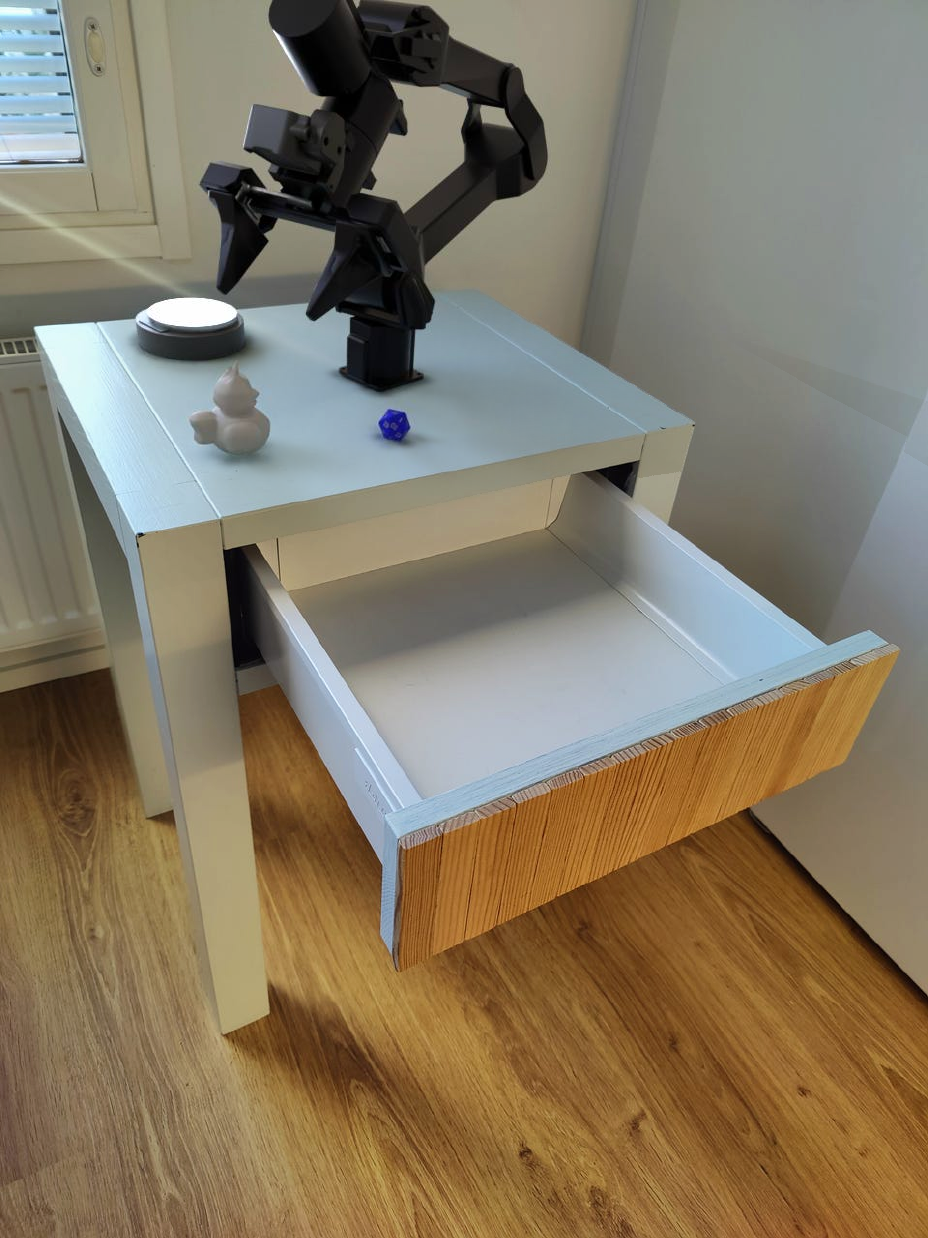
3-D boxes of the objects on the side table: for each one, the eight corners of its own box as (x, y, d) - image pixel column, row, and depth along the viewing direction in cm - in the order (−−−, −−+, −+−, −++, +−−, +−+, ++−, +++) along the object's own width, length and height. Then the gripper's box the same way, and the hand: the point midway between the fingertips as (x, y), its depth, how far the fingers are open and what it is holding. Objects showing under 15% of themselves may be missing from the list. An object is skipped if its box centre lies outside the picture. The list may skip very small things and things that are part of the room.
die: (383, 430, 80) (404, 406, 79) (400, 449, 79) (421, 425, 78) (367, 424, 78) (388, 399, 77) (384, 444, 77) (405, 419, 76)
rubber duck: (280, 460, 73) (276, 368, 69) (202, 471, 71) (193, 377, 66) (260, 433, 77) (255, 344, 72) (185, 443, 74) (174, 352, 69)
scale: (206, 317, 100) (204, 290, 98) (265, 346, 94) (264, 317, 92) (118, 335, 93) (113, 306, 91) (176, 367, 87) (173, 337, 85)
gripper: (205, 44, 68) (115, 217, 66) (406, 78, 61) (312, 270, 60) (274, 148, 78) (198, 299, 77) (452, 186, 72) (373, 352, 70)
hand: (264, 304), depth 71 cm, fingers open, 9 cm apart
